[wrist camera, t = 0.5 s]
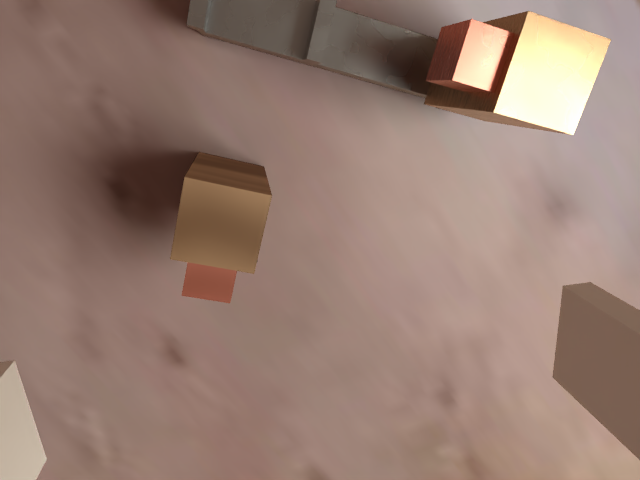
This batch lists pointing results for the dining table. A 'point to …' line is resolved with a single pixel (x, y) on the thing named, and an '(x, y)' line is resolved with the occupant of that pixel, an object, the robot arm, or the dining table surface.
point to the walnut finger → (220, 224)
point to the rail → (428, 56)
